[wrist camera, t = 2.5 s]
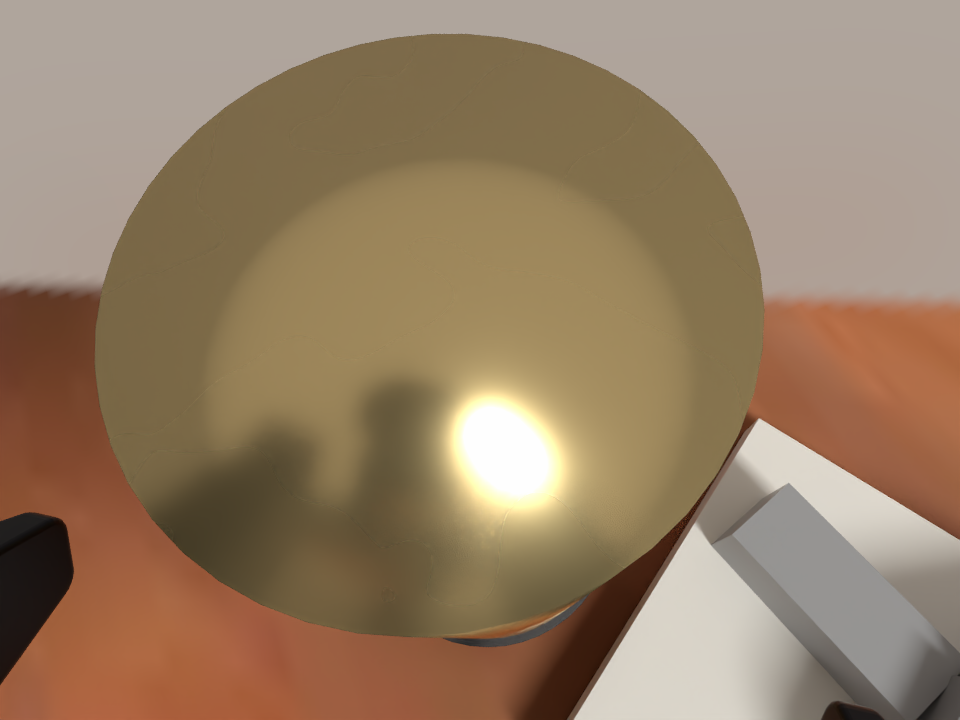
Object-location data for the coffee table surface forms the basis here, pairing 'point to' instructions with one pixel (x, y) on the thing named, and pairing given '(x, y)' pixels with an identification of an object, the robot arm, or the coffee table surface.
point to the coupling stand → (790, 603)
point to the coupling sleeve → (430, 337)
